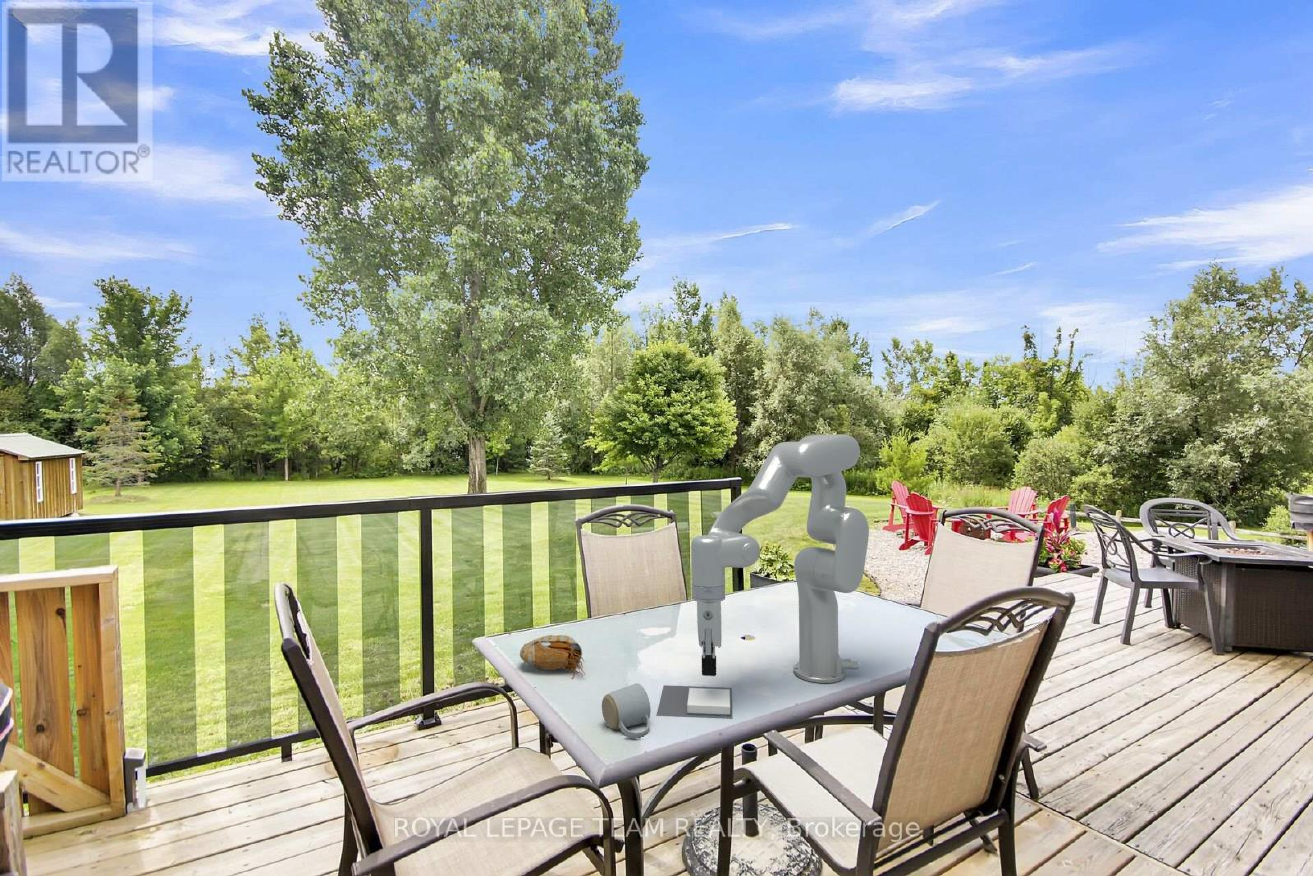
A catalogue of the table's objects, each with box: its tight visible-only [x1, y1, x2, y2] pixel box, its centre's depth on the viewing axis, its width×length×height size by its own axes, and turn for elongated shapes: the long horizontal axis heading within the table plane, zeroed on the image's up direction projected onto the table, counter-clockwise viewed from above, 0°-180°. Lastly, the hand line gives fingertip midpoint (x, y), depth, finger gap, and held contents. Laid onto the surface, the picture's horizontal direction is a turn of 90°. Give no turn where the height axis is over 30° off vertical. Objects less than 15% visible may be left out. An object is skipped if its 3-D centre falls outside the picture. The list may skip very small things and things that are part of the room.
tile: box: [687, 688, 730, 716], centre depth 130 cm, size 9×2×9 cm
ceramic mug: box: [601, 682, 652, 740], centre depth 121 cm, size 11×8×8 cm
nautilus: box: [519, 634, 586, 680], centre depth 153 cm, size 8×22×15 cm
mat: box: [656, 684, 734, 720], centre depth 132 cm, size 16×16×1 cm
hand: (709, 674), depth 132 cm, fingers closed
